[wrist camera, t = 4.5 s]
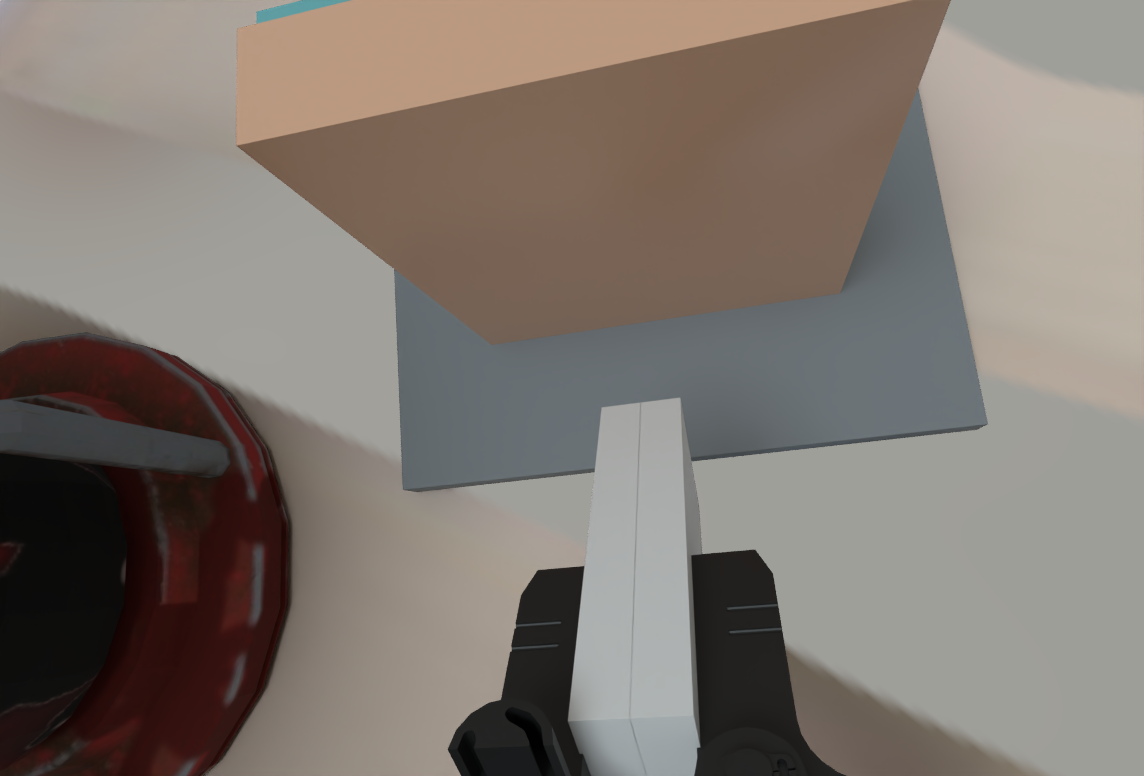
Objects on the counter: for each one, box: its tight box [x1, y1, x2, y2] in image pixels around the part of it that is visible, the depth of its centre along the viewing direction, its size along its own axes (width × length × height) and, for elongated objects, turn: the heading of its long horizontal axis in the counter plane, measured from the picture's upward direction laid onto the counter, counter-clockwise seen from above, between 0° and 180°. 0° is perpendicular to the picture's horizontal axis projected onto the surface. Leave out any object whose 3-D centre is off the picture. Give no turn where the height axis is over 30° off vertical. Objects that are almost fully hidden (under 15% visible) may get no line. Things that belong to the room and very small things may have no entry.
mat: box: [394, 88, 988, 492], centre depth 24 cm, size 20×16×1 cm
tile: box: [236, 0, 951, 345], centre depth 16 cm, size 2×10×12 cm, turn 95°
